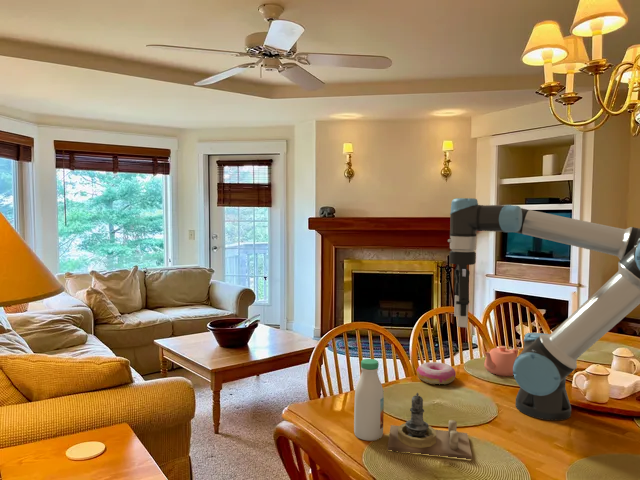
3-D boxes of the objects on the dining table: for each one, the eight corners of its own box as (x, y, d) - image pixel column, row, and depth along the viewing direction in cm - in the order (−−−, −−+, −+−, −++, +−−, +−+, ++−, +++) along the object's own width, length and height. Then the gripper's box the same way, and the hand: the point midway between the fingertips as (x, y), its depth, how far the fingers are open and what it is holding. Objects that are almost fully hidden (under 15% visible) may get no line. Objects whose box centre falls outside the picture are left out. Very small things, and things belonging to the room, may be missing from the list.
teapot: (530, 373, 176) (531, 347, 175) (497, 381, 167) (498, 354, 166) (502, 363, 186) (503, 339, 186) (470, 370, 177) (471, 346, 177)
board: (467, 437, 125) (467, 418, 124) (471, 461, 113) (472, 439, 113) (390, 429, 129) (391, 410, 129) (387, 451, 117) (387, 430, 117)
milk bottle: (375, 444, 121) (376, 367, 119) (348, 436, 125) (349, 362, 123) (387, 432, 127) (389, 359, 126) (362, 425, 131) (363, 354, 130)
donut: (436, 371, 177) (436, 358, 177) (464, 382, 165) (464, 368, 165) (409, 377, 170) (409, 363, 170) (435, 389, 159) (436, 375, 158)
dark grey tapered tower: (427, 433, 124) (428, 389, 123) (429, 444, 118) (429, 397, 117) (405, 432, 125) (405, 387, 124) (405, 442, 119) (405, 396, 118)
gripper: (447, 247, 153) (445, 311, 154) (452, 253, 129) (449, 330, 130) (471, 247, 151) (469, 313, 153) (481, 254, 127) (478, 332, 128)
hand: (460, 321), depth 141 cm, fingers open, 13 cm apart
